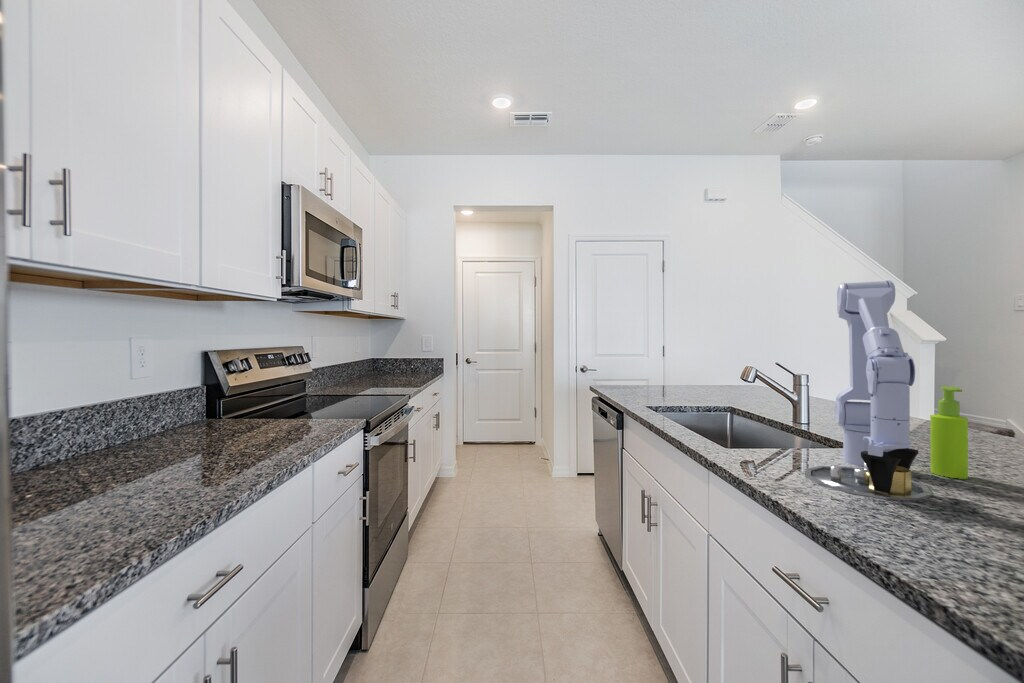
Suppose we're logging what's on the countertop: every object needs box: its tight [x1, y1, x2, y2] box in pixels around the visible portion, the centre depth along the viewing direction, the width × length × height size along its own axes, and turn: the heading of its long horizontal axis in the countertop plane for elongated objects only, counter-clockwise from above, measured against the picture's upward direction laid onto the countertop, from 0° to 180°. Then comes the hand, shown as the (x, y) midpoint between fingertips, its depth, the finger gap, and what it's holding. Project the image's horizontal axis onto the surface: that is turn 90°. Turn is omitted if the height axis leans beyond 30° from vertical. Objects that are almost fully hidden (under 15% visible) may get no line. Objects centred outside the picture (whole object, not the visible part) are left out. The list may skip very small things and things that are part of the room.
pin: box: [830, 465, 842, 483], centre depth 89 cm, size 2×2×4 cm
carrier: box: [804, 462, 933, 501], centre depth 89 cm, size 20×20×4 cm
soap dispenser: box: [929, 385, 969, 480], centre depth 96 cm, size 6×7×20 cm
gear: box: [869, 466, 912, 496], centre depth 83 cm, size 6×6×4 cm
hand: (889, 487), depth 83 cm, fingers open, 7 cm apart
